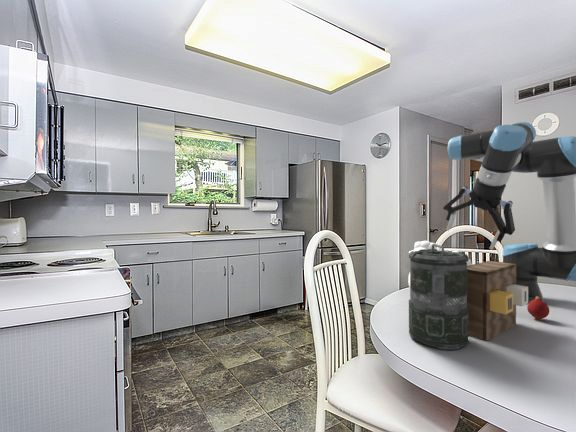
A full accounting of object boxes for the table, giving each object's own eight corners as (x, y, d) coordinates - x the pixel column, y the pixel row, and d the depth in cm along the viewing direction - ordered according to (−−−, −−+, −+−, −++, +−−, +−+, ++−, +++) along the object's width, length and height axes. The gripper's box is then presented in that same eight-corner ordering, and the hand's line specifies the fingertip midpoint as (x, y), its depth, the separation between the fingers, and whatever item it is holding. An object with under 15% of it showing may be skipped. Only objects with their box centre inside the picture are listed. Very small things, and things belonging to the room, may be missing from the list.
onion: (544, 317, 106) (544, 295, 106) (552, 323, 101) (552, 299, 101) (524, 316, 108) (524, 293, 108) (531, 321, 103) (531, 298, 103)
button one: (509, 299, 100) (509, 283, 100) (528, 303, 96) (529, 286, 96) (503, 302, 97) (503, 286, 97) (522, 306, 93) (522, 289, 93)
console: (489, 317, 108) (489, 260, 107) (515, 324, 101) (516, 263, 101) (458, 332, 95) (458, 268, 94) (486, 341, 88) (486, 272, 88)
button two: (493, 306, 93) (494, 289, 93) (514, 311, 89) (514, 293, 89) (486, 309, 90) (486, 292, 90) (506, 314, 86) (506, 296, 86)
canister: (401, 328, 98) (401, 242, 98) (451, 328, 98) (451, 241, 97) (421, 351, 83) (421, 248, 82) (480, 351, 82) (481, 248, 81)
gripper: (442, 171, 94) (427, 226, 106) (538, 201, 78) (508, 261, 91) (453, 163, 98) (437, 217, 110) (547, 190, 82) (516, 250, 95)
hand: (469, 237), depth 100 cm, fingers open, 13 cm apart
